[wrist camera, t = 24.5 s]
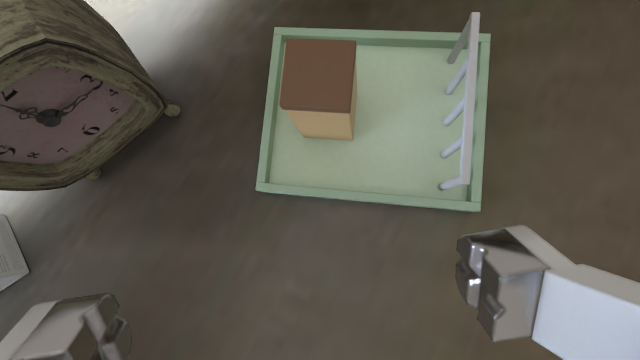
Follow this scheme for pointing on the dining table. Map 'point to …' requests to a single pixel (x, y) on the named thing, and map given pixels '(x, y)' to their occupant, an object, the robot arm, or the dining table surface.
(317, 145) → the dish rack
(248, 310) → the dining table surface
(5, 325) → the dining table surface
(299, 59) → the kraft box
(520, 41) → the dining table surface
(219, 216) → the dining table surface
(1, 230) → the white packaging box
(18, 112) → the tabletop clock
